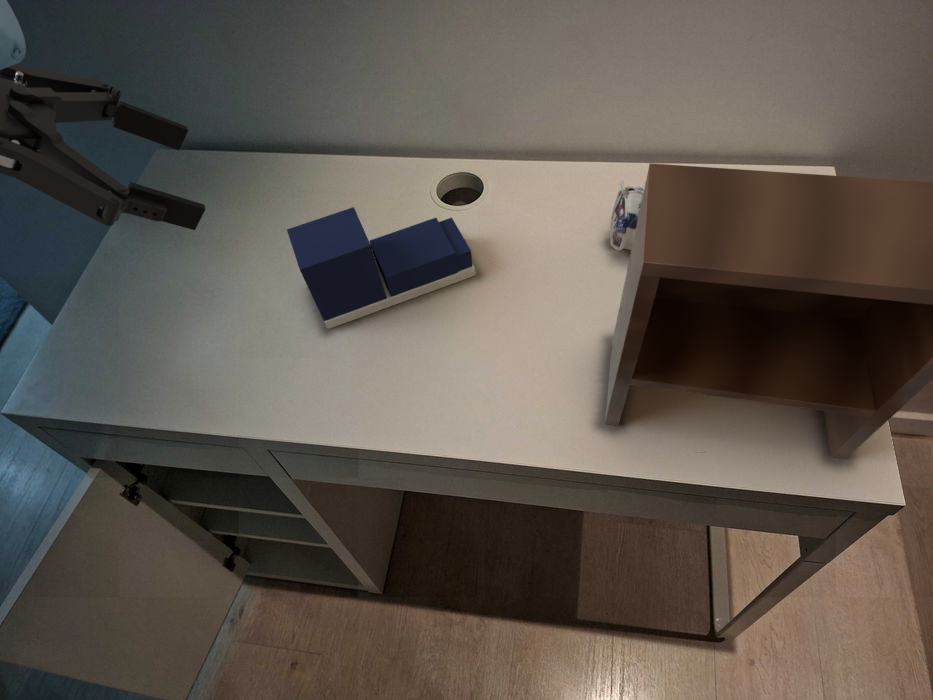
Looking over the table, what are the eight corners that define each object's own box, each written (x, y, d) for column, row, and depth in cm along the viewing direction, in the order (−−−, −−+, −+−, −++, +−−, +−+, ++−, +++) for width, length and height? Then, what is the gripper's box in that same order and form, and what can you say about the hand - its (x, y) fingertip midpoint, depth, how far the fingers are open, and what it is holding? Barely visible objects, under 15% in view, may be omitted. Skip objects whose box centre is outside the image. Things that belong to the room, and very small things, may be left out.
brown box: (604, 423, 70) (643, 262, 47) (612, 341, 76) (649, 163, 53) (845, 459, 65) (1021, 298, 42) (832, 367, 72) (978, 184, 48)
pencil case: (608, 265, 83) (617, 213, 75) (607, 222, 88) (615, 169, 80) (773, 269, 81) (800, 215, 73) (762, 224, 85) (787, 169, 77)
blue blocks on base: (327, 329, 81) (300, 270, 71) (314, 288, 86) (286, 228, 76) (475, 275, 84) (469, 212, 75) (455, 238, 89) (446, 174, 79)
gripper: (-76, 49, 55) (165, 137, 70) (-118, 219, 42) (192, 284, 56) (-63, -28, 52) (189, 82, 66) (-104, 132, 38) (224, 226, 53)
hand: (191, 175), depth 61 cm, fingers open, 13 cm apart
